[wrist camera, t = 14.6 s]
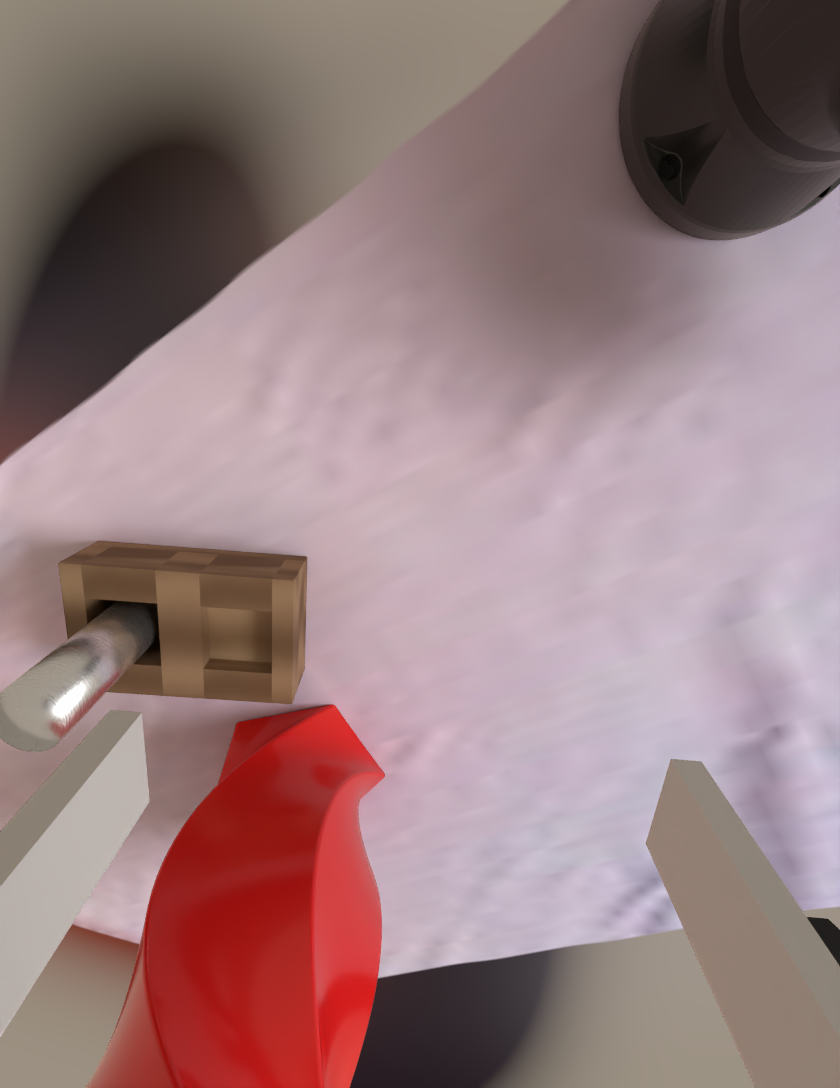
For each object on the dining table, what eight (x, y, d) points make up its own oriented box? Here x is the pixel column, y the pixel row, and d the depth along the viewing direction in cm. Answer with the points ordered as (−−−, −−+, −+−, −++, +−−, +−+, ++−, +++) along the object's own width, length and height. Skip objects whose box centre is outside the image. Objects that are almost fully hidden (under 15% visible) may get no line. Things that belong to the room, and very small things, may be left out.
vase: (195, 784, 49) (-64, 1282, 22) (266, 664, 45) (59, 1087, 19) (342, 850, 52) (267, 1367, 25) (421, 741, 48) (433, 1211, 21)
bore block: (98, 540, 42) (58, 563, 37) (307, 556, 42) (293, 580, 38) (110, 655, 45) (74, 689, 40) (304, 668, 45) (291, 704, 41)
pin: (121, 583, 42) (-18, 685, 28) (173, 587, 42) (59, 691, 29) (125, 629, 43) (-7, 748, 30) (176, 634, 43) (68, 754, 30)
